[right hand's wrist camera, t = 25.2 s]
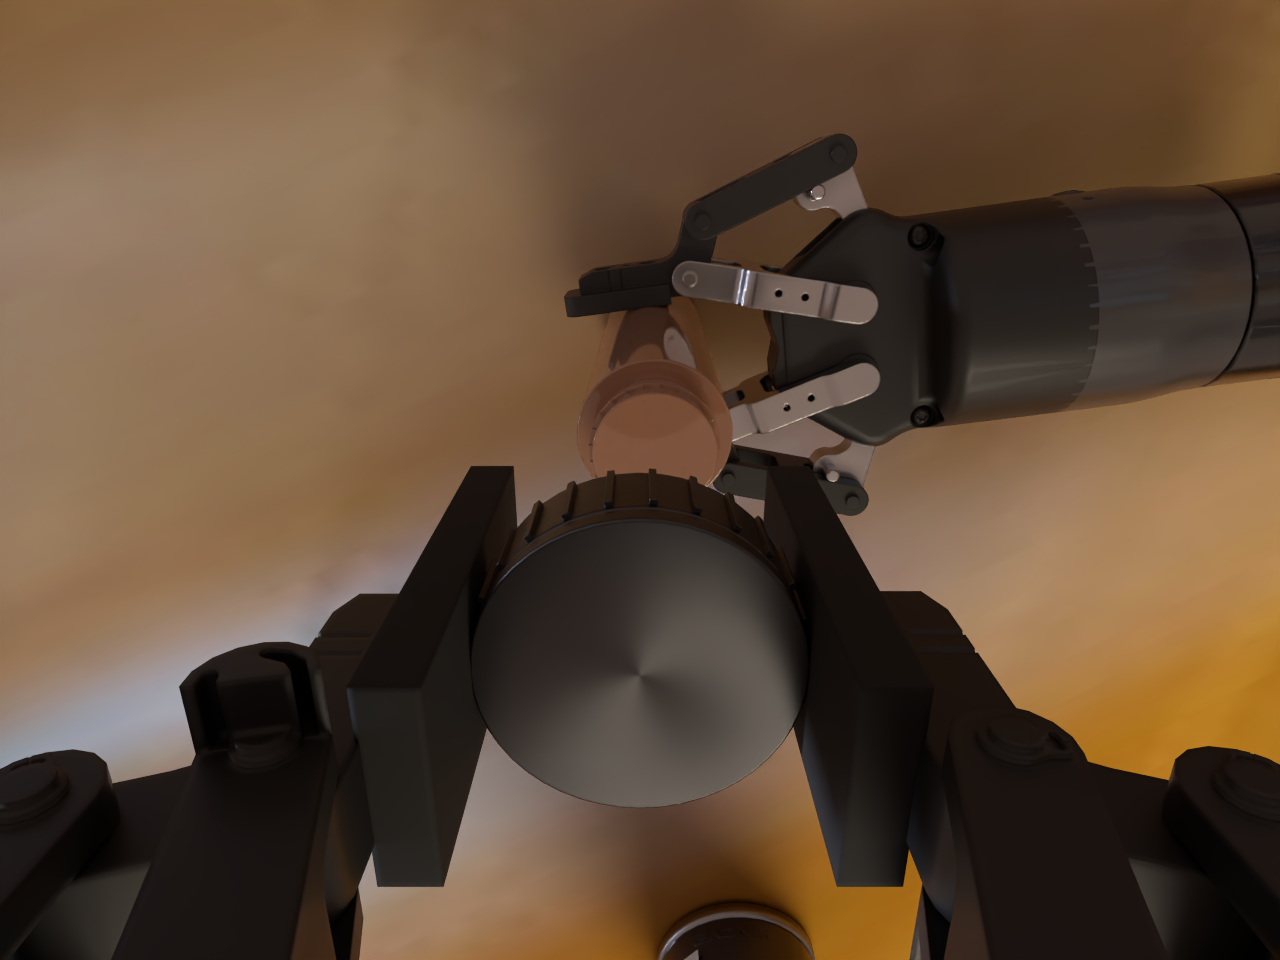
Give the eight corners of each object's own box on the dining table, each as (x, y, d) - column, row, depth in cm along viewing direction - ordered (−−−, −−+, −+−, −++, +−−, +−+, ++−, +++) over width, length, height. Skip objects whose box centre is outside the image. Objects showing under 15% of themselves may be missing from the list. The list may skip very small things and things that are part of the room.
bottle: (594, 298, 35) (547, 402, 19) (683, 267, 34) (711, 349, 18) (625, 384, 36) (603, 549, 20) (710, 356, 36) (757, 503, 20)
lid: (445, 681, 13) (418, 753, 11) (547, 416, 11) (531, 457, 10) (716, 771, 13) (726, 851, 12) (849, 534, 12) (881, 589, 10)
